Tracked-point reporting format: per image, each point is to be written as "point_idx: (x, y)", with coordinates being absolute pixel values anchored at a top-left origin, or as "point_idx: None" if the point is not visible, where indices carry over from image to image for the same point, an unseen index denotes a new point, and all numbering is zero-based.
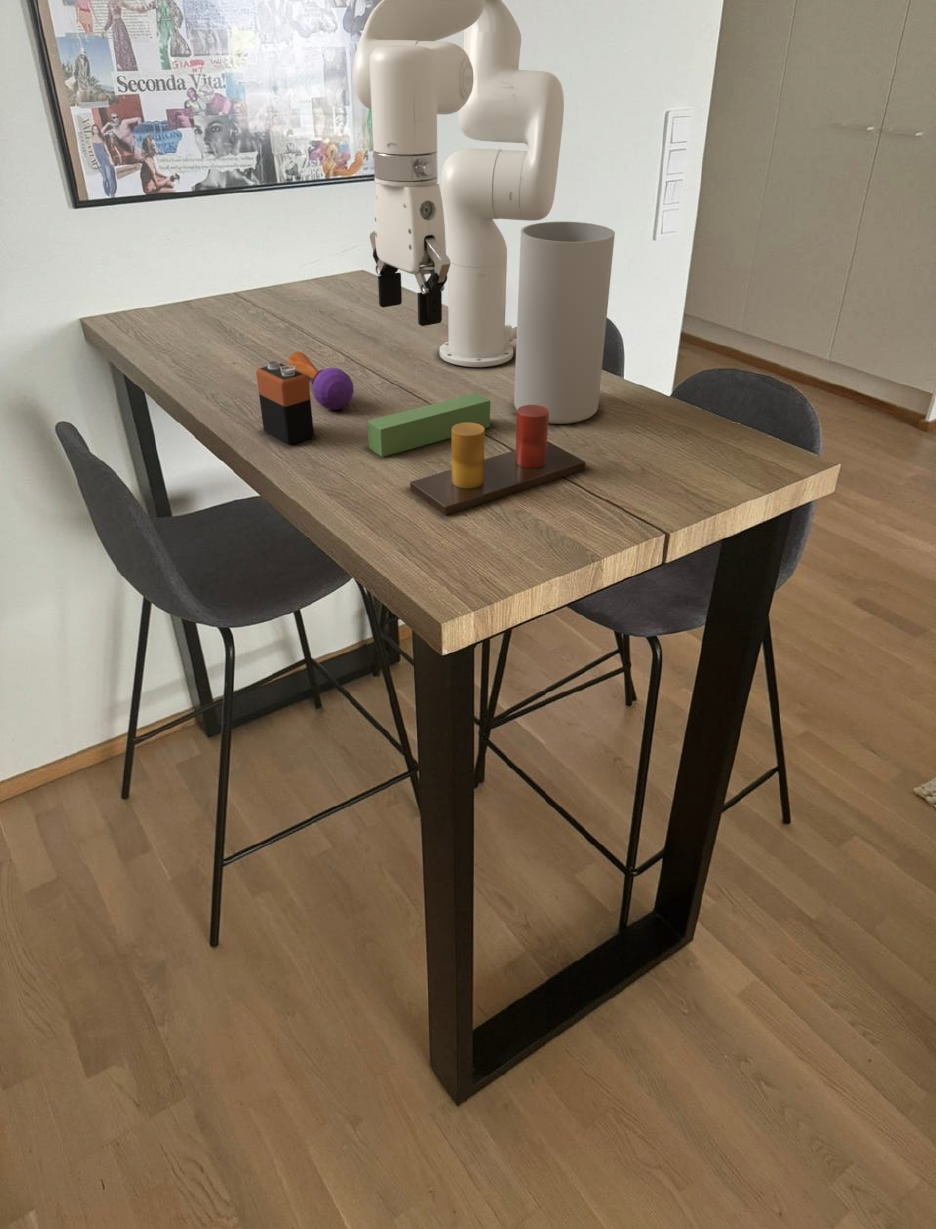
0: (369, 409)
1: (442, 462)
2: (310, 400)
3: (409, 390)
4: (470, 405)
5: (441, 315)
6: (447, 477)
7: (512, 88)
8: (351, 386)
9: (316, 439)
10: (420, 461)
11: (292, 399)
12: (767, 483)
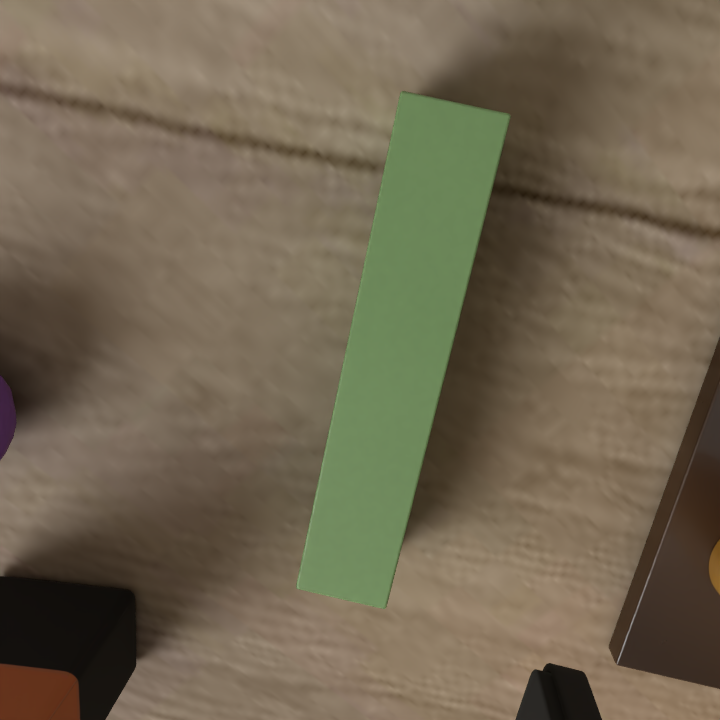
0: (60, 322)
1: (557, 460)
2: (77, 672)
3: (2, 76)
4: (480, 224)
5: (595, 705)
6: (690, 581)
7: None
8: None
9: (148, 589)
10: (498, 499)
11: None
12: None
